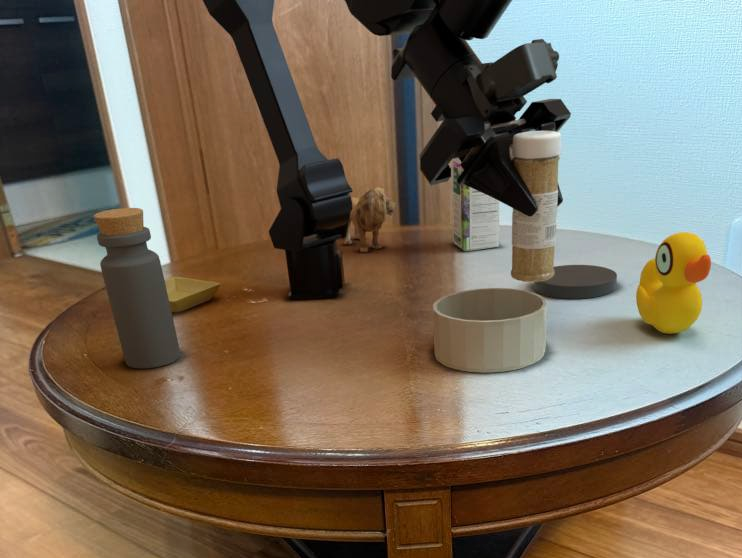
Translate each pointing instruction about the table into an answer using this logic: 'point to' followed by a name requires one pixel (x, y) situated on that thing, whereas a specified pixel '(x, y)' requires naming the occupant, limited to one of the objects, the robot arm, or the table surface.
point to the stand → (578, 282)
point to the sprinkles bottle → (538, 231)
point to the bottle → (136, 290)
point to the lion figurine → (369, 216)
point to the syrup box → (473, 215)
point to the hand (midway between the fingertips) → (546, 209)
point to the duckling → (673, 283)
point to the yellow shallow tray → (189, 292)
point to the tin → (490, 329)
